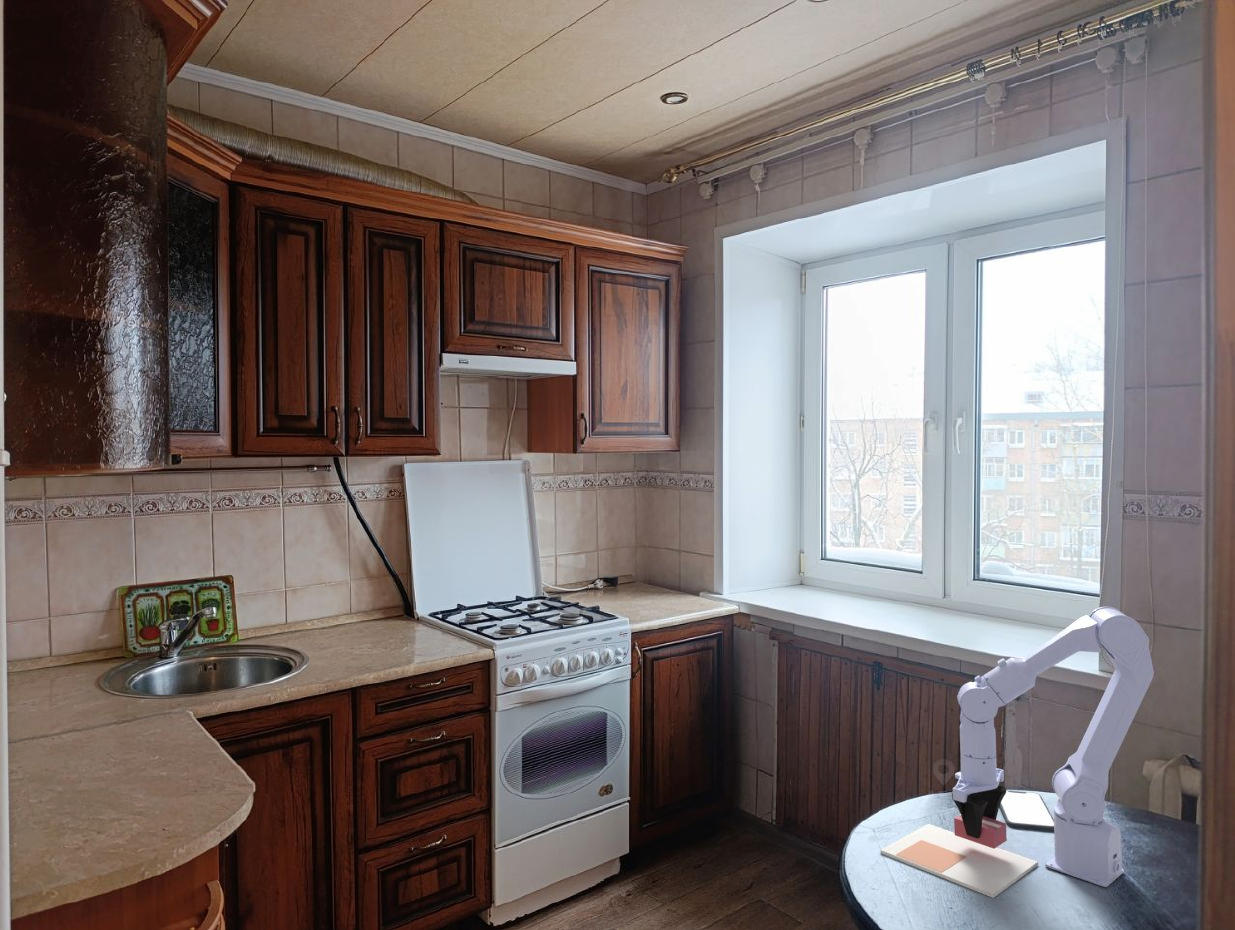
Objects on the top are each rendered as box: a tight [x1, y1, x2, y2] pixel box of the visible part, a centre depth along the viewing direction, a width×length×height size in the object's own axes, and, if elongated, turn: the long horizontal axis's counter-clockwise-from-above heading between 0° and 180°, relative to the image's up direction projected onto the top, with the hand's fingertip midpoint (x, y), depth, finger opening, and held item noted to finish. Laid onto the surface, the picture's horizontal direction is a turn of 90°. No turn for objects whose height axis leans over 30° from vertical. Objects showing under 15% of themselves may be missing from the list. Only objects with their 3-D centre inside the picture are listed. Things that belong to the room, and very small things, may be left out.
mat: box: [880, 823, 1039, 899], centre depth 140 cm, size 20×16×1 cm
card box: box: [953, 813, 1008, 849], centre depth 141 cm, size 7×4×3 cm, turn 40°
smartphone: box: [999, 790, 1054, 833], centre depth 158 cm, size 9×2×16 cm
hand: (980, 831), depth 141 cm, fingers closed on card box, 4 cm apart
